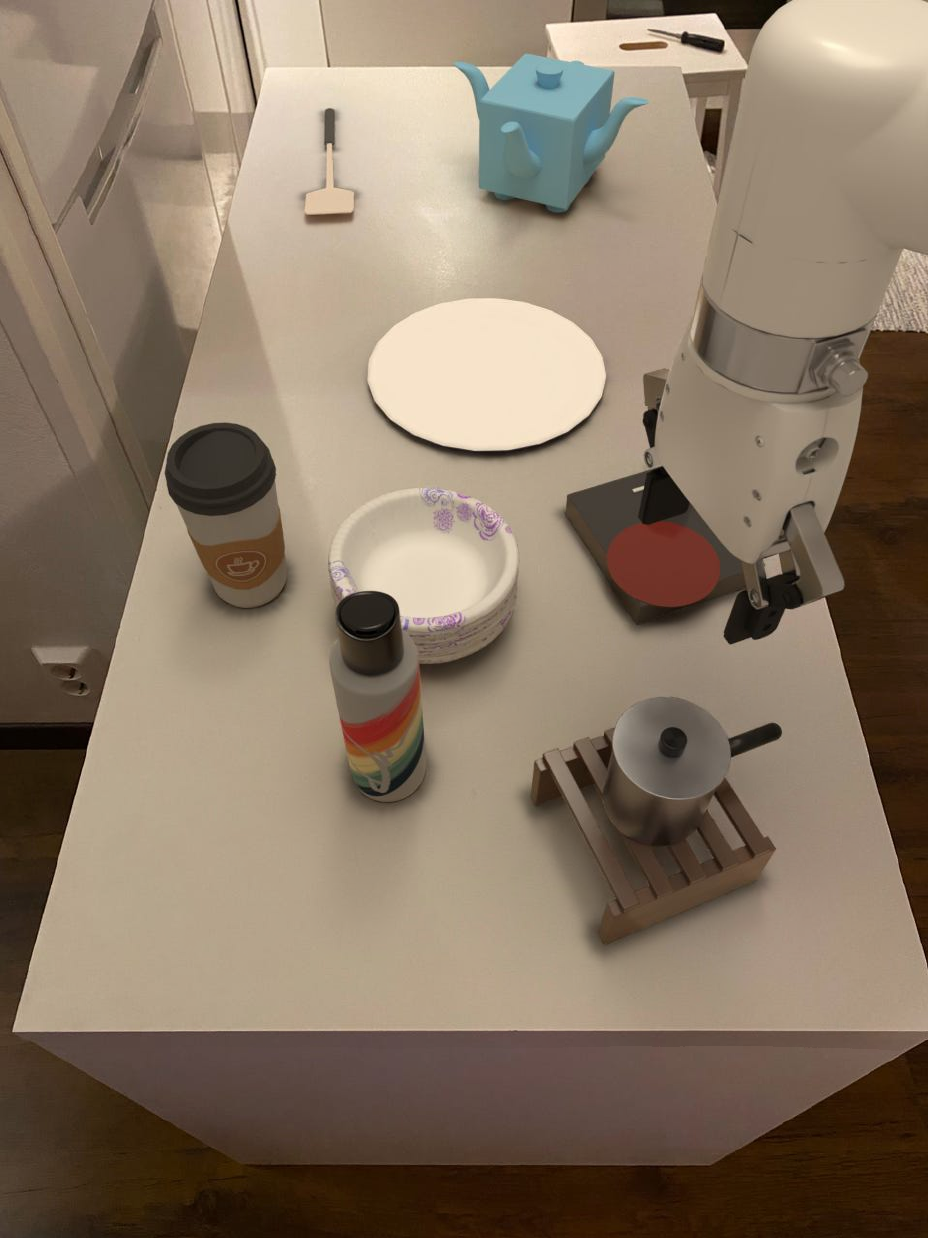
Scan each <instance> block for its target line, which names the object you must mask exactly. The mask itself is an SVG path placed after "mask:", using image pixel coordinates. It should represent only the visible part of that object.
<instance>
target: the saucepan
mask: <svg viewBox="0 0 928 1238" xmlns="http://www.w3.org/2000/svg"><path fill="white" fill-rule="evenodd" d="M614 727H615V728H614ZM614 727H613V728H614V732H613V736H612V753H611V757H610V761H609V766H608V770H607V774H606V778H605V782H604V786H603V800H602V803H603V807H604V811H605V813H606V815H607V817H608V819H609V820H610V822H611V823H612V824H613V825H614V827H615V828H616V829H617V830H618V831H619V832H620V831H621V832H622V833H623V834H624V835H626V836H627V837H629V838H631V839H632V840H634V841H637V842H639V843H642V844H645V845H650V847H651V846H652V847H667V846H668V845H673V844H676V843H679V842H681V841H683V840H685V839H686V840H687V839H688V838H689V837H691V836H692V835H693V834H694V833H695V832H696V831H697V828H698V826H699V824H700V823H701V821H702V818H703V816H704V814H705V812H706V810H708V807H709V806H710V803H711V801H712V800H713V796H714V792H715V790H716V788H717V787H718V786H719V785H720V784H721V782H722V781H723V780H724V778H726V776H727V774H728V771H729V769H730V765H731V760H732V758H735V757H738V756H740V755H742V754H745V753H747V752H750V751H752V750H756V749H757V748H760V747H763V746H765V745H768V744H770V743H773V742H775V741H779V739H781V737H782V735H783V729H782V726H780V724H778V723H777V722H768V723H766V724H763V725H760V726H758V727H755V728H753V729H750V730H748V731H746V732H745V731H744V732H742V733H740V734H737V735H734V736H732V737H729V738H728V736H727V733H726V731H725V730H724V727H723V726H722V725H721V723H720V722H719V721H718V720H717V719H716V717H714V715H712V714H711V713H710V712H709V711H708V710H706V709H705V708H703V707H702V706H701V705H698V704H696V703H695V702H691V701H689V700H687V699H683V698H679V697H673V696H655V697H649V698H646V699H643V700H640V701H638V702H636V703H634V704H633V705H631V706H629V707H628V708H627V709H625V710H624V712H623V713H622V714H621V715H620V716H619V718H618V719H617V721H616V724H615V726H614Z"/></svg>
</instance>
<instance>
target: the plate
mask: <svg viewBox="0 0 928 1238" xmlns="http://www.w3.org/2000/svg"><path fill="white" fill-rule="evenodd" d="M367 362H368V363H367V380H366V381H367V384H368V388H369V390H370V392H371V393H370V394H371V395H372V398H373V401H374V403H375V404H376V405H377V407H378V408H379V409H380V410H381V412H382V413H383V414H384V415H385V416H386V418H387V419H388V420H389V421H390V422H392V423H393V424H395V425H396V426H398V427H400V428H401V429H402V430H404V431H405V432H406V433H408V434H410V435H411V436H413V437H415V438H418V439H421V440H423V441H426V442H428V443H431V444H434V445H436V446H439V447H442V448H446V449H447V448H448V449H453V450H459V451H466V452H472V453H493V452H494V453H495V452H496V453H497V452H498V453H499V452H500V453H501V452H512V451H518V450H522V449H527V448H531V447H532V448H533V447H537V446H541V445H544V444H545V443H547V442H550V441H552V440H554V439H557V438H559V437H561V436H564V435H566V434H568V433H570V432H571V431H572V430H573V429H574V428H576V427H577V426H578V425H580V424H581V423H583V422H584V421H585V420H586V419H588V418H589V417H590V415H591V414H592V412H593V411H594V409H595V408H596V407H597V405H598V404H599V402H600V401H601V399H602V397H603V392H604V388H605V384H606V380H607V373H606V367H605V361H604V356H603V355H602V354H601V352H600V350H599V349H598V347H597V345H596V344H595V342H594V340H593V339H592V338H591V337H590V336H589V335H588V334H587V333H586V332H585V331H583V329H582V328H580V327H579V326H578V325H577V324H576V323H574V322H573V321H572V320H570V319H568V318H567V317H564V316H562V315H560V314H558V313H557V312H555V311H553V310H551V309H548V308H545V307H542V306H539V305H535V304H533V303H529V302H526V301H519V300H513V299H512V300H511V299H505V298H498V297H479V298H475V297H473V298H472V297H471V298H464V299H463V298H462V299H457V300H452V301H447V302H440V303H437V304H435V305H432V306H429V307H426V308H424V309H421V310H417V311H415V312H413V313H412V314H410V315H408V316H407V317H405V318H404V319H402V320H401V321H399V322H398V323H396V324H394V325H393V326H392V327H391V328H389V330H387V332H386V333H384V334H383V336H382V337H381V338H380V339H379V340H378V341H377V342H376V344H375V347H374V349H373V350H372V352H371V354H370V357H369V359H368V361H367Z"/></svg>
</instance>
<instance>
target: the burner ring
mask: <svg viewBox="0 0 928 1238" xmlns="http://www.w3.org/2000/svg"><path fill="white" fill-rule="evenodd" d="M607 566H608V570H609V572H610V575H611V576H612V578H613V580H614V581H615V583H616V584H617V585H618V586H619V587H620V588H621V589H622V590H623V591H624V592H626V593H627V594H628V595H630V596H632V597H633V598H635V599H637V600H639V601H641V602H644V603H647V604H650V605H654V606H660V607H680V606H686V605H689V604H693V603H695V602H697V601H699V600H701V599H703V598H704V597H706V596H707V595H708V594H709V593H710V592H711V591H712V590H713V589H714V587H715V586H716V584H717V582H718V579H719V575H720V563H719V559H718V556H717V554H716V552H715V550H714V549H713V547H712V546H711V545H710V544H709V542H708V541H707V540H706V539H704V538H703V537H702V536H701V535H699V534H698V533H697V532H695V531H693V530H691V529H689V528H687V527H685V526H682V525H679V524H675V523H671V522H664V521H659V522H656V523H653V524H650V525H646V524H643V523H639V524H635V525H633V526H630V527H628V528H626V529H624V530H623V531H622V532H620V533H619V534H618V535H617V536H616V537H615V538H614V539H613V541H612V542H611V544H610V546H609V549H608V552H607Z"/></svg>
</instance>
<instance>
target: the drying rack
mask: <svg viewBox="0 0 928 1238" xmlns="http://www.w3.org/2000/svg"><path fill="white" fill-rule="evenodd" d="M614 728H615V726H614V727H610V728H608V729H605V730H604V731H603V734H602V735H601V736H598V737H594V738H590V737H589V736H587V737H583V738H582V739H578V740H576V741H574V742H573V745H572V746H570V747H568V748H565V749H562V750H560V749H559V748H554V749H552V750H549V751H546V752H544V753H542V757H541V758H537V759H536V760H534V763H533V771H532V780H531V787H530V798H531V800H532V802H533V804H534V806H535V807H539V806H541V805H544V804H547V803H548V802H551V801H554V800H556V799H559V798H563V800H564V803H565V804H566V806H567V808H568V810H569V812H570V814H571V816H572V819H573V820H574V822H575V824H576V826H577V828H578V830H579V831H580V833H581V835H582V837H583V839H584V841H585V843H586V845H587V847H588V849H589V850H590V852H591V855H592V857H593V858H594V860H595V862H596V864H597V866H598V868H599V870H600V872H601V874H602V876H603V878H604V880H605V882H606V884H607V886H608V888H609V890H610V891H611V893H612V895H613V897H614V899H613V900H611V901H608V902H607V903H606V904H605V908H604V911H603V915H602V918H601V921H600V924H599V927H598V930H597V933H598V935H599V938H600V939H601V942H602V943H603V945H604V946H606V945H608V944H610V943H613V942H615V941H618V940H620V939H622V938H625V937H628V936H630V935H632V934H635V933H636V932H639V931H641V930H643V929H645V928H648V927H650V926H653V925H655V924H658V923H660V922H661V921H664V920H667V919H669V918H671V917H675V916H677V915H679V914H681V913H684V912H686V911H688V910H690V909H693V908H695V907H697V906H700V905H702V904H704V903H708V902H710V901H712V900H714V899H716V898H718V897H721V896H723V895H725V894H728V893H730V892H733V891H735V890H737V889H739V888H742V887H745V886H747V885H749V884H751V883H753V882H756V881H758V878H759V877H760V875H761V874H762V872H763V870H764V869H765V868H766V866H767V864H768V863H769V861H770V860H771V859H772V857H773V855H774V853H775V852H776V851H777V847H776V846H775V844H774V843H773V841H772V840H771V838H770V837H769V836H764V835H763V834H762V832H761V831H760V829H759V827H758V826H757V824H756V823H755V821H754V819H753V818H752V817H751V815H750V813H749V812H748V810H747V809H746V807H745V806H744V804H743V803H742V801H741V800H740V798H739V796H738V794H737V793H736V792H735V790H734V789H733V787H732V786H731V783H730V782H729V780H728V779H727V778H726V777H725V778H724V780H723V781H722V782H721V784H720V785H719V786H718V787H717V788H716V790H715V792H714V794H713V796H714V798H715V799H716V801H717V802H718V804H719V806H720V807H721V809H722V810H723V812H724V814H725V816H726V817H727V818H728V820H729V822H730V823H731V825H732V826H733V828H734V830H735V832H736V833H737V834H738V836H739V838H740V839H741V841H742V843H743V844H744V845H743V846H741V847H738V848H736V849H733V850H732V848H731V846H730V844H729V843H728V841H727V839H726V838H725V836H724V834H723V833H722V832H721V829H720V828H719V827H718V825H717V823H716V822H715V820H714V818H713V817H712V815H711V813H710V812H709V810H708V809H707V810H706V812H705V814H704V816H703V818H702V821H701V823H700V824H699V826H698V828H697V829H696V831H697V833H698V834H699V836H700V838H701V840H702V842H703V843H704V844H705V846H706V848H707V849H708V852H709V853H710V854H711V856H712V858H711V859H709V860H707V861H705V862H702V863H700V861H699V860H698V858H697V855H696V854H695V853H694V850H693V849H692V848H691V845H690V844H689V842H688V841H687V838H686V839H685V840H683V841H681V842H679V843H676V844H673V845H668V846H666V848H667V849H668V850H669V852H670V855H672V858H673V859H674V861H675V863H676V865H677V866H678V868H679V870H680V872H678V873H675V874H673V875H671V876H669V877H668V875H667V874H666V871H665V870H664V869H663V867H662V865H661V863H660V862H659V859H658V858H657V856H656V854H655V852H654V851H653V849H652V847H651V845H645V844H642V843H639V842H637V841H634V840H632V839H631V838H629V837H627V836H626V835H624V834H623V833H622V832H621V831H619V833H620V834H621V837H622V838H623V840H624V842H625V844H626V846H627V848H628V850H629V852H630V853H631V855H632V857H633V859H634V861H635V862H636V864H637V867H638V869H639V870H640V872H641V874H642V875H643V877H644V879H645V881H646V883H647V885H646V886H644V887H642V888H639V889H637V890H634V888H633V886H632V885H631V883H630V881H629V879H628V877H627V875H626V873H625V871H624V869H623V867H622V866H621V864H620V862H619V860H618V858H617V856H616V855H615V853H614V850H613V849H612V846H611V845H610V843H609V841H608V839H607V838H606V835H605V834H604V831H603V829H602V828H601V826H600V824H599V822H598V820H597V819H596V817H595V815H594V813H593V811H592V809H591V808H590V806H589V803H588V802H587V800H586V798H585V797H584V794H583V792H582V790H583V789H585V788H588V787H591V786H593V785H594V787H595V790H596V791H597V793H598V795H599V797H600V798H601V800H602V801H603V786H604V782H605V778H606V774H607V770H608V766H609V761H610V757H611V753H612V736H613V732H614Z"/></svg>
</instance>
